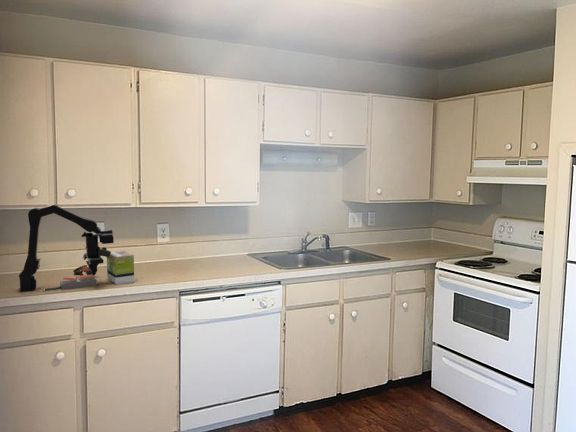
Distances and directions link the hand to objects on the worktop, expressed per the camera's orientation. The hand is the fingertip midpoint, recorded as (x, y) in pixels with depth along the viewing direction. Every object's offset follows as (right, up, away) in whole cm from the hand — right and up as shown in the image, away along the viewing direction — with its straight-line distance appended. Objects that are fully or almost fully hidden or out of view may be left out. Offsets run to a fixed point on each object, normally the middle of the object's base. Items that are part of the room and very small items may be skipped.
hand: (94, 275), depth 239 cm
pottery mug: (-10, -4, +14) cm, 18 cm away
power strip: (-9, -5, -6) cm, 12 cm away
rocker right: (-3, -1, -2) cm, 4 cm away
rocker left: (-10, -1, -6) cm, 12 cm away
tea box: (+10, -4, +10) cm, 15 cm away
